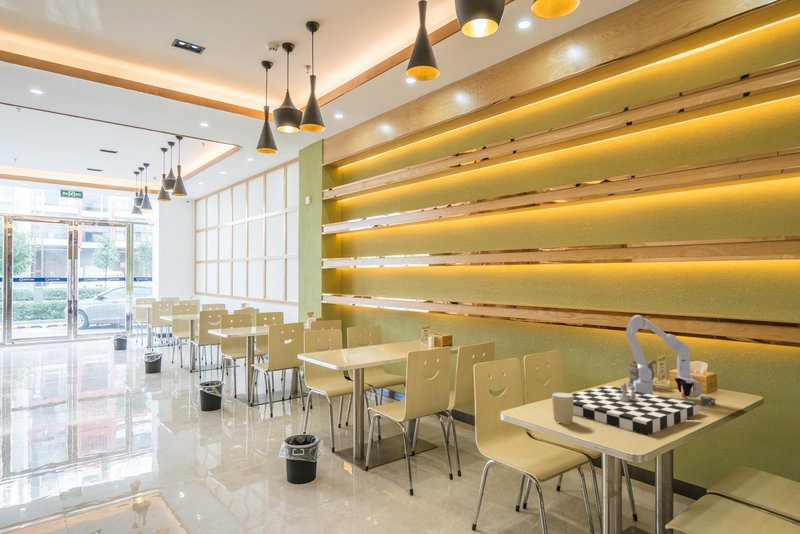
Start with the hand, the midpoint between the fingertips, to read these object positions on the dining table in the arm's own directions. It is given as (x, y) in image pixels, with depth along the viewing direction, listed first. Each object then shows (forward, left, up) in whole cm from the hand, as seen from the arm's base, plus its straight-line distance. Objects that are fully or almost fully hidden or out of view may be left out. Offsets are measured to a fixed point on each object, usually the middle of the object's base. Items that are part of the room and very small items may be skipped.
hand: (684, 394), depth 234 cm
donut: (+7, +10, -4) cm, 13 cm away
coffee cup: (-64, -48, -4) cm, 80 cm away
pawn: (0, 0, -3) cm, 3 cm away
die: (+8, -8, -4) cm, 12 cm away
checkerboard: (-34, -27, -5) cm, 44 cm away
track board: (0, -8, -4) cm, 8 cm away
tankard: (-10, +33, -4) cm, 35 cm away
